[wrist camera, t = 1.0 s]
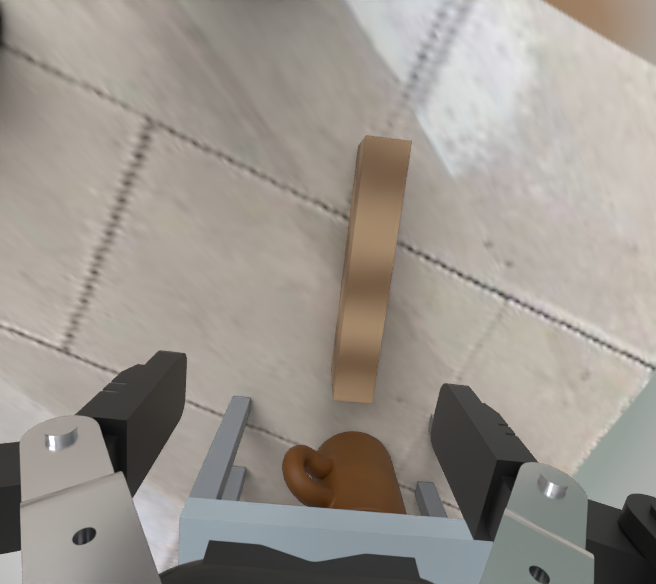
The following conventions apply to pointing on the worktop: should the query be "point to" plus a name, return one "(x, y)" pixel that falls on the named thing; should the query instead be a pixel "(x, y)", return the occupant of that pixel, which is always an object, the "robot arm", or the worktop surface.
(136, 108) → the worktop surface
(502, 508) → the robot arm
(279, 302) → the worktop surface
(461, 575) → the small grey table
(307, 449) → the mug
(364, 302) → the batten
